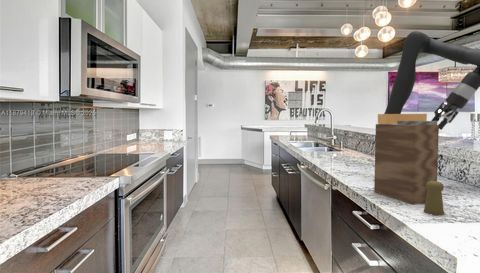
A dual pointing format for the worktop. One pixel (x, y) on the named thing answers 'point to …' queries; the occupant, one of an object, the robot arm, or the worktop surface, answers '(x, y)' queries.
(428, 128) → the walnut stand
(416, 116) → the wooden bar
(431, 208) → the cork
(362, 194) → the worktop surface
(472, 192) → the worktop surface
